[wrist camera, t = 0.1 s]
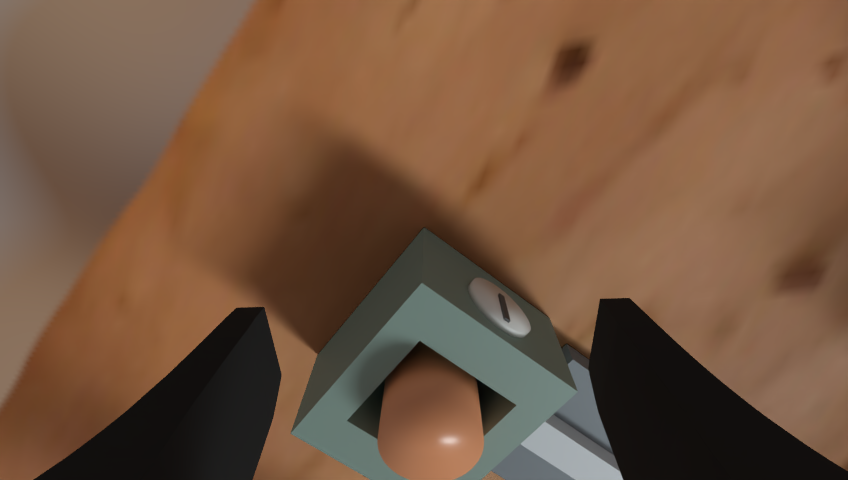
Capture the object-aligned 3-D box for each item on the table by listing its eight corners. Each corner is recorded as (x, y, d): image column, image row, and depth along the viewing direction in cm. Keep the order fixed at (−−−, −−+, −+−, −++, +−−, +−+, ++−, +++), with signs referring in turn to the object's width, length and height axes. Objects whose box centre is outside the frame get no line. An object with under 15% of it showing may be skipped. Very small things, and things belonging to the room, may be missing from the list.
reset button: (438, 416, 23) (439, 498, 19) (370, 373, 22) (356, 450, 18) (493, 362, 22) (506, 437, 18) (423, 314, 21) (420, 382, 17)
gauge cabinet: (437, 429, 26) (438, 518, 21) (317, 355, 24) (290, 433, 20) (555, 312, 23) (586, 384, 19) (430, 219, 22) (429, 274, 17)
